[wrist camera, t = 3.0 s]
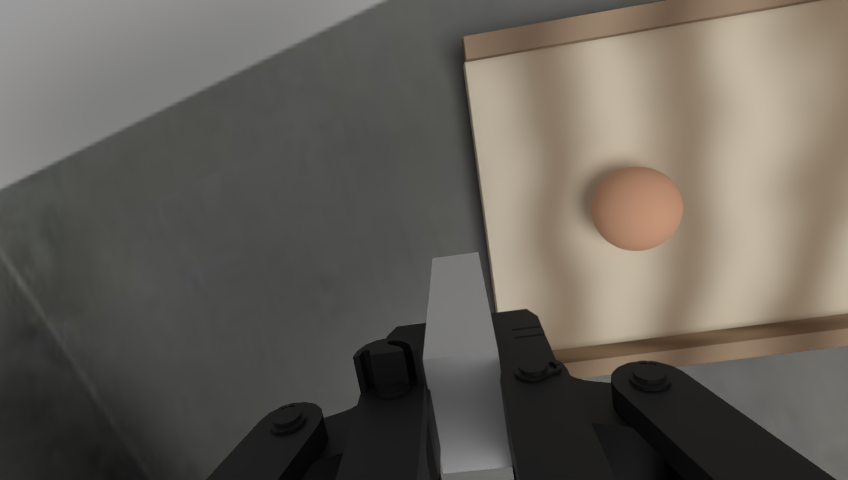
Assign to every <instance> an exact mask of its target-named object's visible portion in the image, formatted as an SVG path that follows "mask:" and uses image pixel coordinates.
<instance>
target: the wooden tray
mask: <svg viewBox="0 0 848 480" xmlns="http://www.w3.org/2000/svg"><path fill="white" fill-rule="evenodd" d="M462 48H463V55H464V65H463V71H464V78H465V86H466V93H467V101H468V108H469V116H470V123H471V131H472V138H473V146H474V153H475V161H476V168H477V176H478V183H479V191H480V198H481V206H482V213H483V221H484V228H485V236H486V243H487V251H488V258H489V266H490V273H491V281H492V288H493V296H494V303H495V311H496V313H497V312H505V311H513V310H520V309H528V310H529V311H531V312H532V313H534V314H535V315H537V316H538V318H539V320H540V323H541V325H542V328H543V330H544V332H545V335H546V337H547V340H548V342H549V344H550V347H551V349H552V352H553V354H554V356H555V359H556V360H558V361H560V362H562V363H563V364H564V365H565V367H566V368H567V369H568V372H569V374H570V375H571V376H573V377H575V378H587V377H595V376H603V375H611V374H612V372H613V371H614V370H615V369H616V368H617V367H619V366H621V365H624V364H626V363H630V362H637V361H656V362H660V363H664V364H668V365H671V366H673V367H677V366H685V365H694V364H702V363H710V362H718V361H726V360H735V359H743V358H751V357H759V356H768V355H776V354H784V353H792V352H801V351H809V350H817V349H825V348H834V347H842V346H848V0H665V1H660V2H654V3H649V4H643V5H637V6H632V7H626V8H620V9H615V10H609V11H604V12H598V13H592V14H587V15H581V16H575V17H570V18H564V19H558V20H553V21H547V22H542V23H536V24H530V25H525V26H519V27H513V28H508V29H502V30H496V31H491V32H485V33H480V34H474V35H468V36H463V39H462ZM630 167H647V168H652V169H655V170H657V171H659V172H661V173H663V174H665V175H666V176H668V177H669V178H670V179H671V180H672V181H673V182H674V183H675V185H676V186H677V188H678V189H679V191H680V194H681V196H682V200H683V215H682V219H681V222H680V225H679V227H678V228H677V230H676V232H675V233H674V234H673V235H672V236H671V237H670V238H669V239H668V240H667V241H665V242H664V243H662V244H661V245H659V246H657V247H655V248H652V249H649V250H644V251H629V250H624V249H621V248H618V247H616V246H614V245H612V244H610V243H609V242H607V241H606V240H605V239H604V238H603V237H602V236H601V235H600V233H599V232H598V230H597V229H596V227H595V225H594V222H593V218H592V202H593V198H594V195H595V193H596V191H597V189H598V188H599V186H600V185H601V184H602V183H603V181H604V180H605V179H607V178H608V177H609V176H610V175H612V174H614V173H615V172H617V171H619V170H622V169H626V168H630Z"/></svg>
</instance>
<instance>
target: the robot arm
mask: <svg viewBox="0 0 848 480" xmlns="http://www.w3.org/2000/svg"><path fill="white" fill-rule="evenodd" d="M353 360H354V364H355V369H356V373H357V378H358V382H359V387H360V391H361V394H360V398H359V401H358V405H357V406H355V407H353V408H352V409H349V410H347V411H344V412H341V413H338V414H335V415H332V416H329V417H326V418H324V417H323V413H322V409H321V408H320V407H319V406H317V405H316V404H313V403H308V402H302V403H292V404H289V405H285V406H282V407H280V408H279V409H277V410H275V411H273V412H271V413H269V414H268V415H267V416H266V417H264V418H263V419H262V420H261V421H260V422H259V423H258V424H257V425H256V426H255V427H254V428H253V429H252V430H251V431H250V433H249V434H248V435H247V436H246V437H245V438H244V439H243V440H242V441H241V442H240V443H239V444H238V446H237V447H236V448H235V449H234V450H233V451H232V452H231V453H230V454H229V455H228V456H227V457H226V459H225V460H224V461H223V462H222V463H221V464H220V465H219V466H218V467H217V468H216V469H215V471H214V472H213V473H212V474H211V475H210V476H209V477H208V478H207V479H206V480H442V479H441V474H440V459H441V464H442V470H443V474H445V473H455V472H465V471H475V470H485V469H495V468H505V467H513V474H514V480H836V479H835V478H833V477H832V476H830V475H829V474H828V473H826V472H825V471H823V470H822V469H820V468H819V467H818V466H816V465H815V464H813V463H812V462H811V461H809V460H808V459H806V458H805V457H803V456H802V455H801V454H799V453H798V452H796V451H795V450H793V449H792V448H791V447H789V446H788V445H786V444H785V443H784V442H782V441H781V440H779V439H778V438H776V437H775V436H774V435H772V434H771V433H769V432H768V431H767V430H765V429H764V428H762V427H761V426H759V425H758V424H757V423H755V422H754V421H752V420H751V419H750V418H748V417H747V416H745V415H744V414H742V413H741V412H740V411H738V410H737V409H735V408H734V407H732V406H731V405H730V404H728V403H727V402H725V401H724V400H723V399H721V398H720V397H718V396H717V395H715V394H714V393H713V392H711V391H710V390H708V389H707V388H706V387H704V386H703V385H701V384H700V383H698V382H697V381H696V380H694V379H693V378H691V377H690V376H689V375H687V374H686V373H684V372H683V371H681V370H679V369H677V368H675V367H673V366H671V365H668V364H664V363H660V362H656V361H637V362H630V363H626V364H624V365H621V366H619V367H617V368H616V369H615V370H614V371H613V372H612V375H611V383H605V382H593V381H586V380H582V379H578V378H575V377H573V376H571V375H570V374H569V372H568V369H567V368H566V367H565V365H564V364H563V363H562V362H560V361H558V360H556V359H555V356H554V354H553V352H552V349H551V347H550V344H549V342H548V340H547V337H546V335H545V332H544V330H543V328H542V325H541V323H540V320H539V318H538V316H537V315H535V314H534V313H532V312H531V311H529V310H528V309H520V310H513V311H505V312H497V313H490V308H489V303H488V298H487V293H486V288H485V283H484V278H483V273H482V268H481V263H480V258H479V253H478V252H475V253H468V254H461V255H453V256H446V257H439V258H433V260H432V270H431V280H430V291H429V301H428V311H427V321H426V323H422V324H414V325H407V326H399V327H396V328H395V329H394V330H393V331H392V332H391V333H390V334H389V335H388V336H387V338H386V339H381V340H377V341H374V342H372V343H370V344H367V345H365V346H364V347H362V348H361V349H359V350H358V351H357V352H356V354H355V355H354V356H353Z"/></svg>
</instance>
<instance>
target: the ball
mask: <svg viewBox="0 0 848 480" xmlns="http://www.w3.org/2000/svg"><path fill="white" fill-rule="evenodd" d="M682 215H683V200H682V196H681V194H680V191H679V189H678V188H677V186H676V185H675V183H674V182H673V181H672V180H671V179H670V178H669V177H668V176H666V175H665V174H663V173H661V172H659V171H657V170H655V169H652V168H647V167H630V168H626V169H622V170H619V171H617V172H615V173H614V174H612V175H610V176H609V177H608V178H607V179H605V180H604V181H603V183H602V184H601V185H600V186H599V188H598V189H597V191H596V193H595V195H594V198H593V202H592V218H593V222H594V225H595V227H596V229H597V230H598V232H599V233H600V235H601V236H602V237H603V238H604V239H605V240H606V241H607V242H609V243H610V244H612V245H614V246H616V247H618V248H621V249H624V250H629V251H644V250H649V249H652V248H655V247H657V246H659V245H661V244H662V243H664V242H665V241H667V240H668V239H669V238H670V237H671V236H672V235H673V234H674V233H675V232H676V230H677V228H678V227H679V225H680V222H681V219H682Z"/></svg>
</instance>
